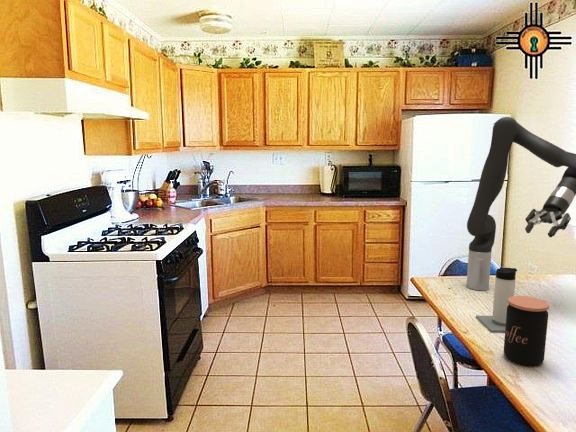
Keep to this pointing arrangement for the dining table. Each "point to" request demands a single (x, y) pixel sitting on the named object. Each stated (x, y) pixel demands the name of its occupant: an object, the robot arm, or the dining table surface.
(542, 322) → the coffee jar
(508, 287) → the travel mug
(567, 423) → the dining table surface
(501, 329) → the slate mat
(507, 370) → the dining table surface
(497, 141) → the robot arm
